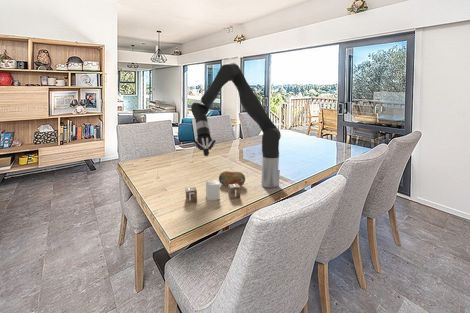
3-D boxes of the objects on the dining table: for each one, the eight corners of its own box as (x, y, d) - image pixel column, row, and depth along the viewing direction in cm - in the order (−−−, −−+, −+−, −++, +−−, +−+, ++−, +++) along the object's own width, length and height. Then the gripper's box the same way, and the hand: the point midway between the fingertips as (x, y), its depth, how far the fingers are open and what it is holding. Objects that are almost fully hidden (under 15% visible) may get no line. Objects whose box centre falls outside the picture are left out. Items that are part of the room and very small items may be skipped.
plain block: (217, 194, 141) (217, 180, 139) (219, 199, 135) (219, 184, 133) (205, 195, 139) (205, 181, 137) (207, 200, 134) (207, 185, 132)
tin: (218, 185, 155) (218, 171, 153) (220, 183, 158) (220, 169, 156) (244, 187, 151) (244, 173, 149) (245, 185, 154) (245, 171, 152)
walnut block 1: (237, 194, 142) (237, 183, 140) (240, 198, 137) (240, 186, 135) (228, 195, 140) (228, 184, 139) (230, 199, 136) (230, 187, 134)
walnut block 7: (195, 198, 136) (195, 186, 135) (197, 202, 131) (196, 190, 130) (185, 199, 135) (185, 187, 133) (186, 203, 130) (186, 191, 129)
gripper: (192, 126, 153) (195, 152, 144) (214, 126, 156) (219, 151, 148) (191, 134, 159) (194, 159, 151) (213, 133, 162) (217, 158, 154)
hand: (206, 155), depth 149 cm, fingers closed
